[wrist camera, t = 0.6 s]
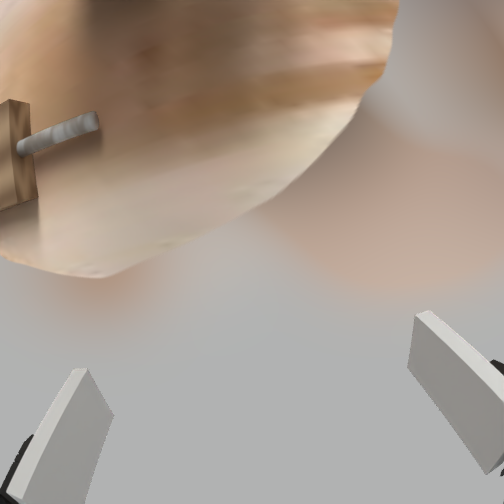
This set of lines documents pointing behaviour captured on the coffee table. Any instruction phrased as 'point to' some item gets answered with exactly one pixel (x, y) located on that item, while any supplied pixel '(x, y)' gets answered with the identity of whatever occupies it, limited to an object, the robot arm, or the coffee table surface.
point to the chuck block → (29, 148)
